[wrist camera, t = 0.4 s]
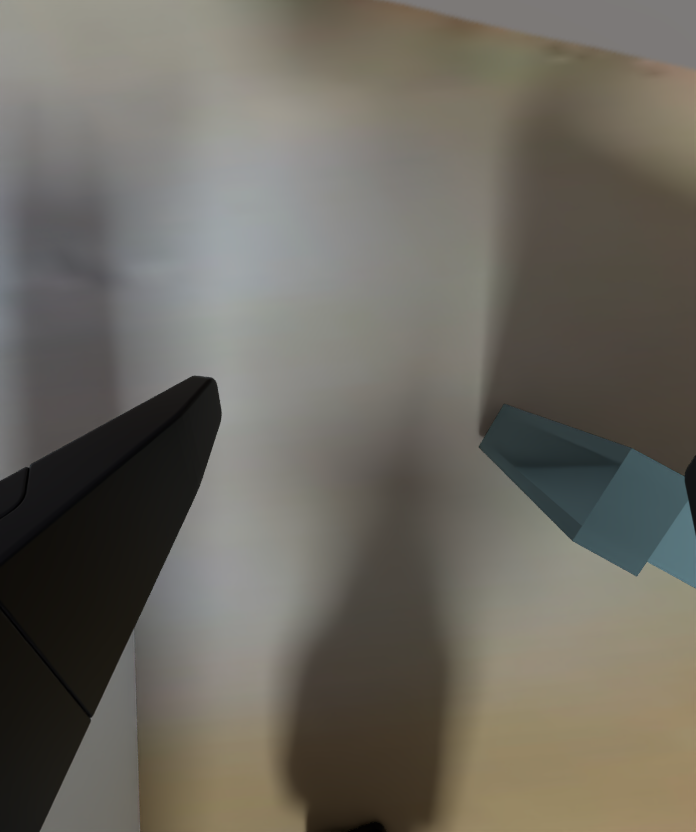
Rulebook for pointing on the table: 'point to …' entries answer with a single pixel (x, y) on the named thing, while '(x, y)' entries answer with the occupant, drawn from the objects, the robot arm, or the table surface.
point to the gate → (598, 492)
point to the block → (104, 763)
